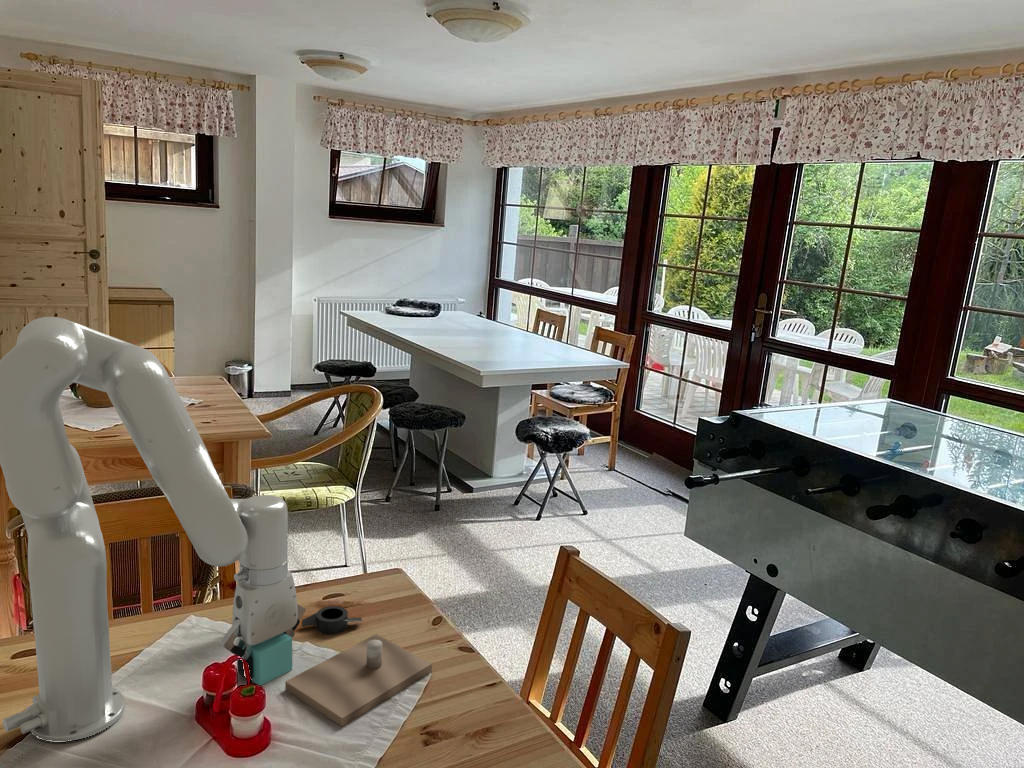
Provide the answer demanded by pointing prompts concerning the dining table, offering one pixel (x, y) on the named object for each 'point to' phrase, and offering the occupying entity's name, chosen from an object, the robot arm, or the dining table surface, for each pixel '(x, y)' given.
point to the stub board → (358, 679)
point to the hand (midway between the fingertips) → (265, 665)
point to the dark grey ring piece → (330, 620)
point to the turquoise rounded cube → (271, 658)
